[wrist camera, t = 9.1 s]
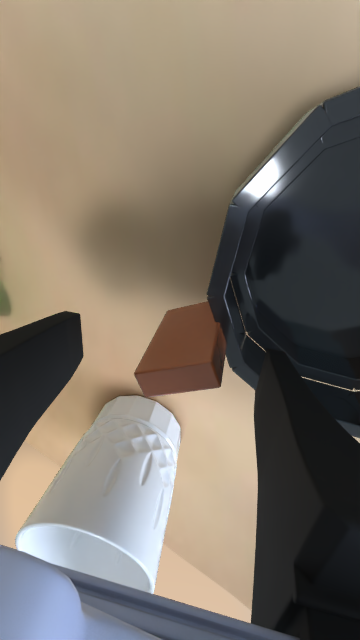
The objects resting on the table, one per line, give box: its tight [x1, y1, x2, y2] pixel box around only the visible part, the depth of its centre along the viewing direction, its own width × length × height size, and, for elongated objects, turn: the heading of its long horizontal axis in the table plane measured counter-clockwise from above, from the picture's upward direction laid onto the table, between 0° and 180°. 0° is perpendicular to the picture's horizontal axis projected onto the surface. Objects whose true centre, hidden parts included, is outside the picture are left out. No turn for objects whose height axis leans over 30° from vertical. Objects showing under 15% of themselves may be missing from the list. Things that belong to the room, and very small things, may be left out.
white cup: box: [15, 396, 180, 594], centre depth 21 cm, size 8×8×10 cm
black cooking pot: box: [134, 87, 360, 438], centre depth 12 cm, size 16×13×8 cm
